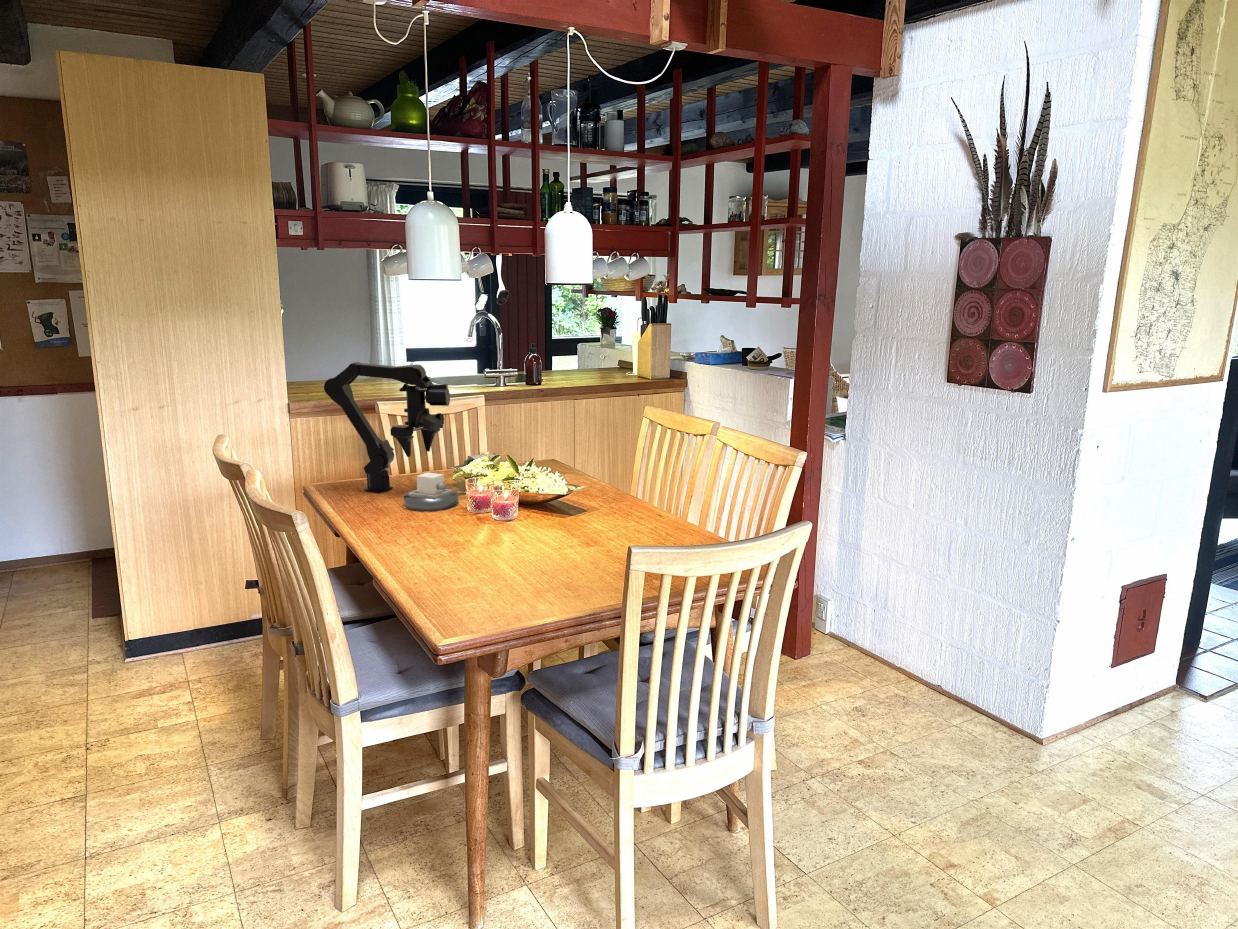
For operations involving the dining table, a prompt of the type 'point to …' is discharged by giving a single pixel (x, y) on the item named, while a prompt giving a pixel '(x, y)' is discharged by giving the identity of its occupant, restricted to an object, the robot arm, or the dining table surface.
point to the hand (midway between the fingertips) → (418, 454)
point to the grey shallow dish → (431, 500)
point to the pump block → (430, 484)
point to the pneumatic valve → (476, 457)
